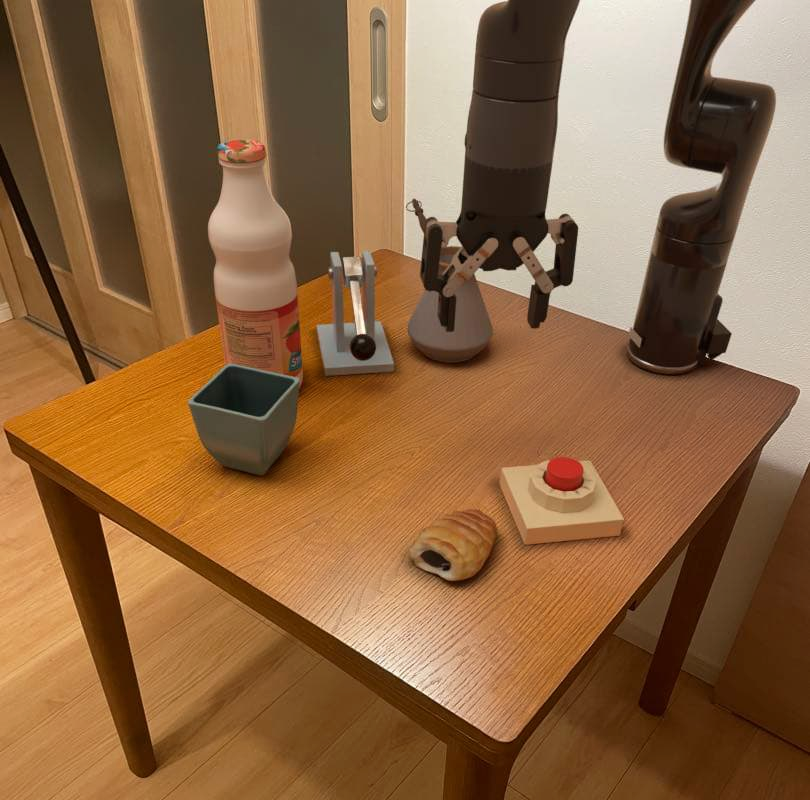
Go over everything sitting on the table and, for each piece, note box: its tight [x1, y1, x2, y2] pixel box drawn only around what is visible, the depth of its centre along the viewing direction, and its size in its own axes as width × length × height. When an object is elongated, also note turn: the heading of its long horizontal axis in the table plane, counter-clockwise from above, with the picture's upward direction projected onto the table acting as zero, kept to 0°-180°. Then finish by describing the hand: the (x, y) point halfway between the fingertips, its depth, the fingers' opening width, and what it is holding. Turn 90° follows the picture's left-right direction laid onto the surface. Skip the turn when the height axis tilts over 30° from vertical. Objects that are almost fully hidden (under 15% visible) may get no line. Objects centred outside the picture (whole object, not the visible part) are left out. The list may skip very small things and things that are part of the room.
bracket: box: [316, 250, 395, 377], centre depth 103 cm, size 12×9×13 cm
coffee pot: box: [405, 198, 494, 363], centre depth 107 cm, size 21×12×15 cm, turn 20°
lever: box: [342, 256, 376, 361], centre depth 98 cm, size 14×3×3 cm, turn 10°
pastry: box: [408, 508, 498, 582], centre depth 77 cm, size 9×7×4 cm
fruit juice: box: [207, 138, 304, 389], centre depth 91 cm, size 9×9×28 cm
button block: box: [498, 459, 625, 546], centre depth 82 cm, size 10×10×4 cm
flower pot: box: [187, 364, 300, 476], centre depth 86 cm, size 9×9×9 cm
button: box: [545, 456, 584, 492], centre depth 80 cm, size 4×4×2 cm
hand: (491, 326), depth 79 cm, fingers open, 8 cm apart
